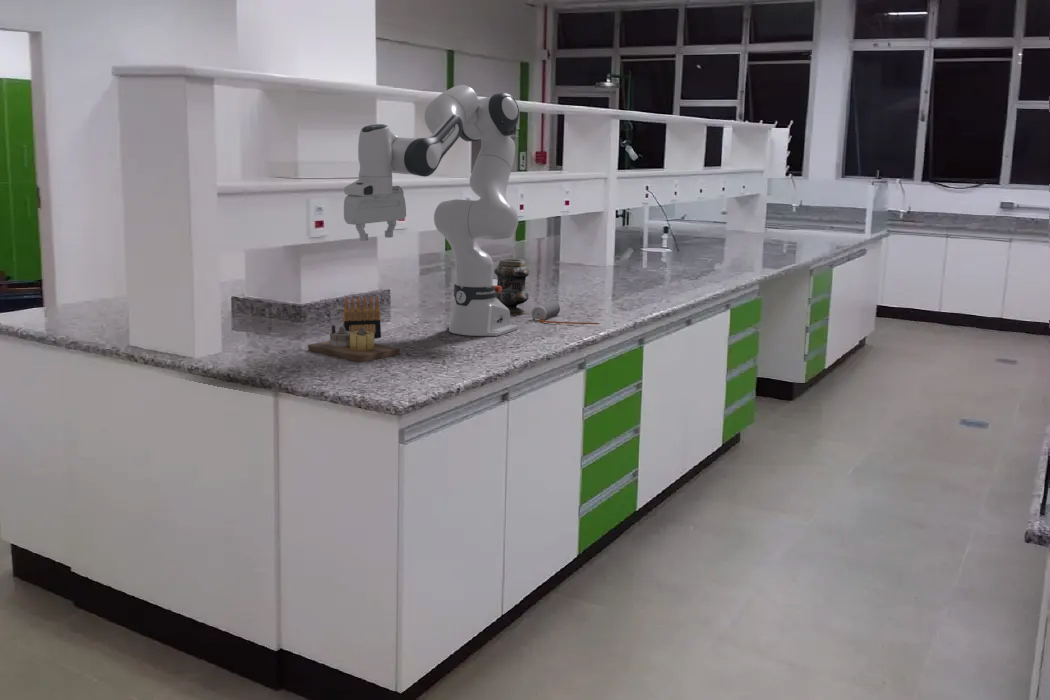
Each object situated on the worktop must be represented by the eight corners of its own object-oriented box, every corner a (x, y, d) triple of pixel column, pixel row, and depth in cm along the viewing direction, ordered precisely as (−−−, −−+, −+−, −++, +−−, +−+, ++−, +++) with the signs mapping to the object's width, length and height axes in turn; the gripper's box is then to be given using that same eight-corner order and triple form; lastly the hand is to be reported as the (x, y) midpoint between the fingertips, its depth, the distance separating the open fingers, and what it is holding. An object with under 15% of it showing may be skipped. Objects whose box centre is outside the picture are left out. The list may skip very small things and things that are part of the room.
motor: (525, 321, 303) (528, 306, 301) (550, 311, 323) (553, 297, 321) (592, 340, 295) (595, 325, 294) (613, 329, 315) (616, 315, 314)
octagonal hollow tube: (362, 344, 251) (362, 330, 250) (379, 348, 247) (379, 333, 246) (345, 348, 246) (345, 333, 245) (361, 351, 242) (361, 336, 241)
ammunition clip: (343, 338, 265) (343, 296, 263) (342, 337, 267) (342, 295, 264) (381, 337, 269) (381, 296, 266) (379, 336, 270) (380, 295, 268)
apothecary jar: (531, 310, 323) (533, 258, 319) (523, 316, 311) (525, 262, 307) (497, 308, 325) (499, 256, 321) (488, 313, 314) (489, 260, 310)
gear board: (347, 342, 260) (347, 316, 258) (399, 354, 248) (400, 327, 246) (308, 350, 249) (307, 323, 247) (360, 362, 237) (360, 334, 235)
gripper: (394, 184, 260) (395, 234, 264) (339, 188, 244) (340, 241, 248) (411, 186, 257) (411, 236, 260) (356, 189, 241) (357, 243, 244)
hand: (376, 238), depth 254 cm, fingers open, 8 cm apart
